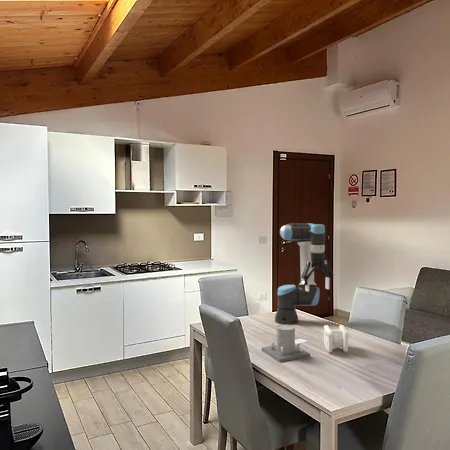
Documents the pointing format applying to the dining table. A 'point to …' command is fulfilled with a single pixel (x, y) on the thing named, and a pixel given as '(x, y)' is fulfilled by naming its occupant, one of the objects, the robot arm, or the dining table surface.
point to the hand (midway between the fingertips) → (317, 290)
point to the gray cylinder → (285, 338)
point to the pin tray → (285, 357)
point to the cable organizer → (335, 338)
